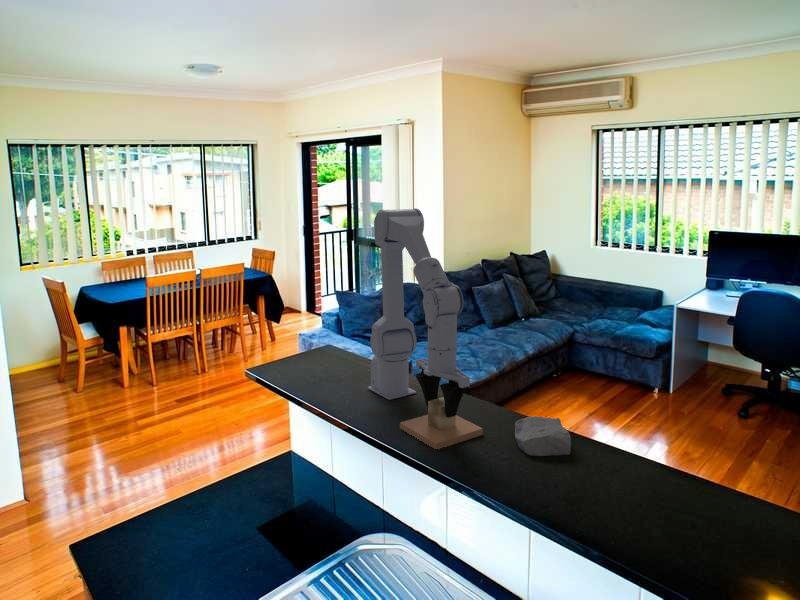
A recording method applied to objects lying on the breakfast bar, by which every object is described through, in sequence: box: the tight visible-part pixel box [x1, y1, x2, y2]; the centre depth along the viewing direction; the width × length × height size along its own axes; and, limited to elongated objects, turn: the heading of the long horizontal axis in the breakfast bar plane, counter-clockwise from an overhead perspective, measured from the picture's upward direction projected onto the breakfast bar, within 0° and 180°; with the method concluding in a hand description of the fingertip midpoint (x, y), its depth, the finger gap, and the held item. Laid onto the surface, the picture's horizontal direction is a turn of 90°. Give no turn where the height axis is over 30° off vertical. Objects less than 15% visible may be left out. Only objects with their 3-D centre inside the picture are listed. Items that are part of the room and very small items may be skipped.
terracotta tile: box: [399, 414, 484, 450], centre depth 123 cm, size 12×12×2 cm
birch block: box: [427, 396, 456, 431], centre depth 122 cm, size 4×4×5 cm
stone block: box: [514, 415, 572, 457], centre depth 118 cm, size 12×5×10 cm
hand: (441, 411), depth 122 cm, fingers open, 6 cm apart
